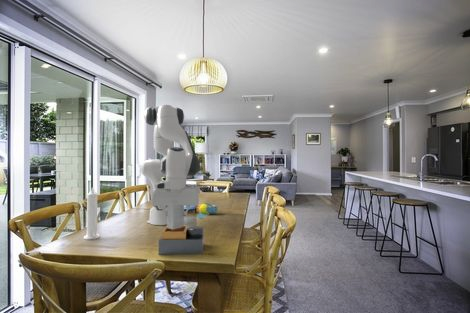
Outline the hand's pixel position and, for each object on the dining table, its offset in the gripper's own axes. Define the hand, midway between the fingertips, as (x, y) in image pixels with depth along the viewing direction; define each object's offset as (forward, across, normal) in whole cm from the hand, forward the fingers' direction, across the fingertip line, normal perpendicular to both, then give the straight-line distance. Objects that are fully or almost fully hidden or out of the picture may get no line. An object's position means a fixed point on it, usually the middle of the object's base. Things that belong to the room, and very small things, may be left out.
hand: (175, 215), depth 112 cm
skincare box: (+5, 0, 0) cm, 5 cm away
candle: (+15, +44, -19) cm, 50 cm away
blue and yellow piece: (+15, -12, -70) cm, 73 cm away
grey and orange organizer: (+15, -3, 0) cm, 15 cm away
